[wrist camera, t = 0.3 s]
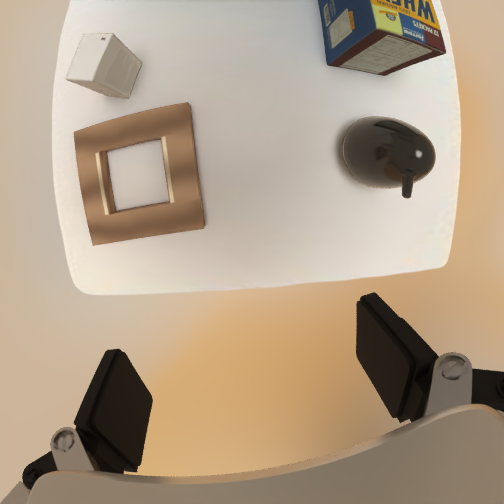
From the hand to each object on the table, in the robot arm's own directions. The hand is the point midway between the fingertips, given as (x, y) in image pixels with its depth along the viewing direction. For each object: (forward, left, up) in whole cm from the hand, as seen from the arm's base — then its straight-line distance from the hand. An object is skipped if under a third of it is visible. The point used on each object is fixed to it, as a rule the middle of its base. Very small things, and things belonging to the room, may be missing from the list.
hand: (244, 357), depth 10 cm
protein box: (-28, +22, -30) cm, 47 cm away
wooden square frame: (-7, -12, -30) cm, 33 cm away
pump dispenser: (-7, +21, -30) cm, 38 cm away
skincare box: (-22, -13, -30) cm, 40 cm away
